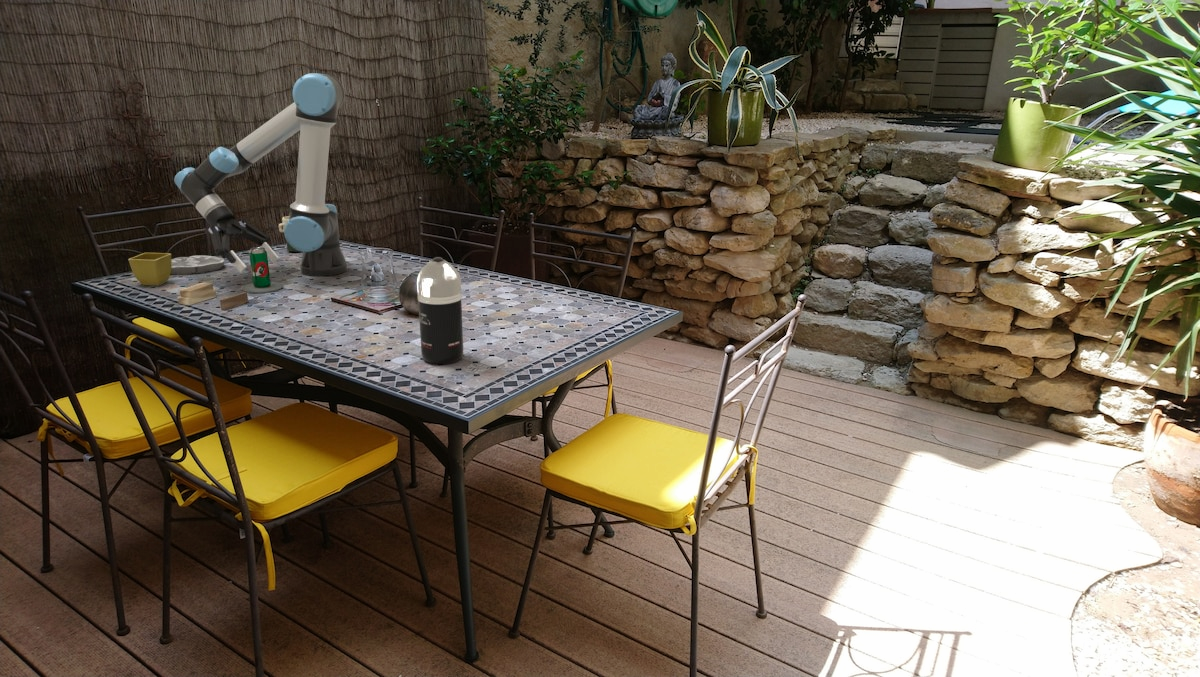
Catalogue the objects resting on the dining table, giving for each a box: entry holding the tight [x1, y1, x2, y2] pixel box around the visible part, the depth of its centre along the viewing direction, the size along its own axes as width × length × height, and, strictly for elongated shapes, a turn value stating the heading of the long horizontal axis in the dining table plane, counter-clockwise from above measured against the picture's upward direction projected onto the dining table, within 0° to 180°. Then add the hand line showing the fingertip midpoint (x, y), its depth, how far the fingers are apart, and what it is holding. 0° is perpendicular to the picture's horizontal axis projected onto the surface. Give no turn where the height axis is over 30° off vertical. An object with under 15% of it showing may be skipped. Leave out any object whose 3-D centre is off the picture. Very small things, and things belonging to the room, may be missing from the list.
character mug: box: [278, 215, 299, 253], centre depth 277 cm, size 11×7×13 cm, turn 137°
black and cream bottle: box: [416, 256, 464, 365], centre depth 174 cm, size 10×10×25 cm
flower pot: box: [127, 252, 172, 287], centre depth 231 cm, size 9×9×9 cm
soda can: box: [248, 246, 272, 288], centre depth 229 cm, size 5×5×12 cm
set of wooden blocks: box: [177, 282, 249, 311], centre depth 214 cm, size 17×10×4 cm, turn 70°
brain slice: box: [170, 255, 225, 276], centre depth 250 cm, size 20×17×3 cm
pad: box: [241, 280, 284, 294], centre depth 231 cm, size 12×12×1 cm
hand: (260, 265), depth 228 cm, fingers open, 13 cm apart
